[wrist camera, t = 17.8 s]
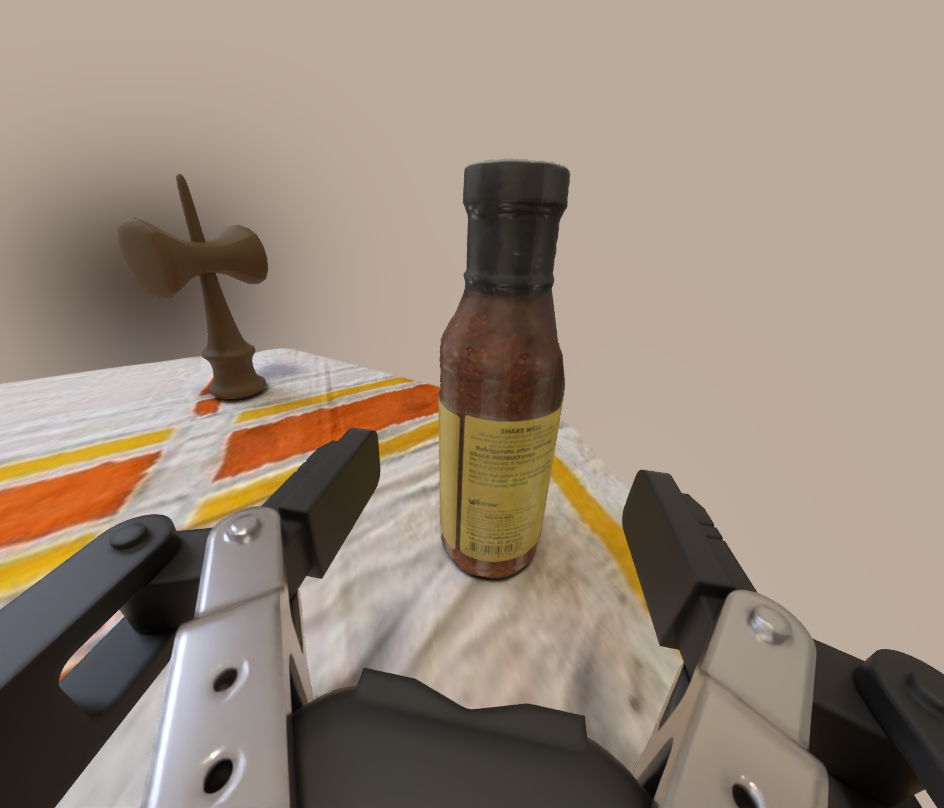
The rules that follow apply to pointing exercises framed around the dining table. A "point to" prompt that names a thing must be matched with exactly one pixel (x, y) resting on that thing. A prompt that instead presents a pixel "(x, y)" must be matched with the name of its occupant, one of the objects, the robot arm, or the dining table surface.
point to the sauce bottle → (502, 369)
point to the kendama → (177, 261)
